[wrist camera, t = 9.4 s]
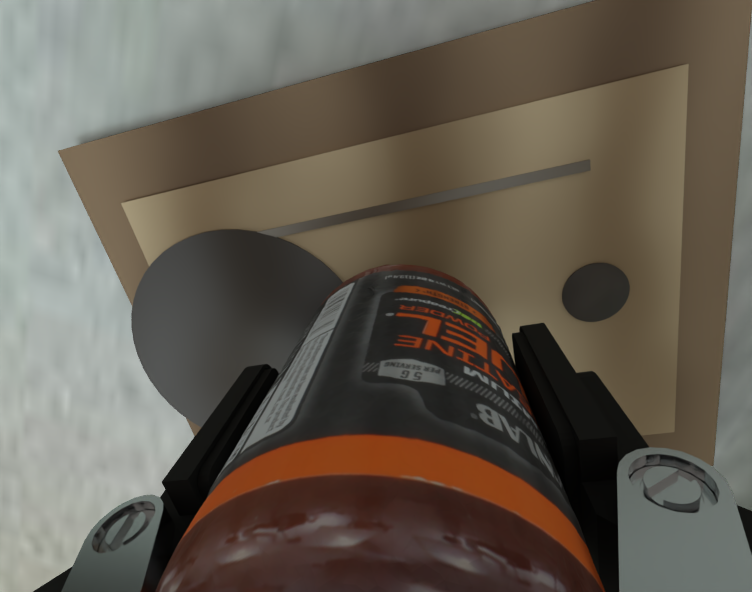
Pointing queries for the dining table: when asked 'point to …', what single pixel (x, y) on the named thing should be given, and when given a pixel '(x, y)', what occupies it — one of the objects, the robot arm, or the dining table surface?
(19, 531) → the dining table surface
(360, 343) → the supplement bottle
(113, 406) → the dining table surface
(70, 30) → the dining table surface
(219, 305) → the brown flat wooden board
